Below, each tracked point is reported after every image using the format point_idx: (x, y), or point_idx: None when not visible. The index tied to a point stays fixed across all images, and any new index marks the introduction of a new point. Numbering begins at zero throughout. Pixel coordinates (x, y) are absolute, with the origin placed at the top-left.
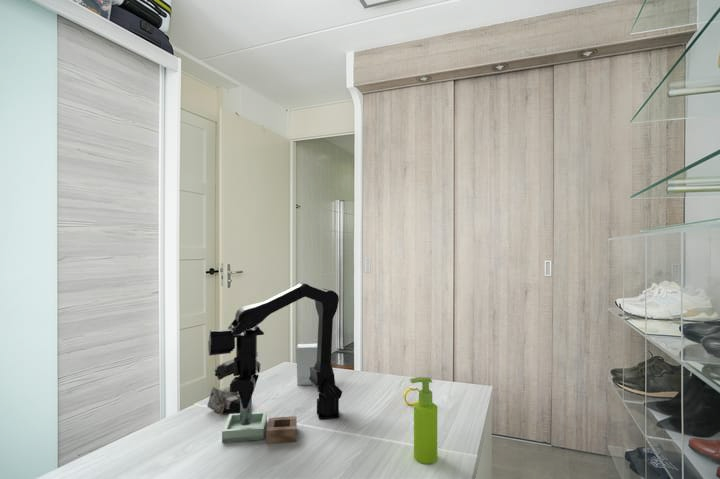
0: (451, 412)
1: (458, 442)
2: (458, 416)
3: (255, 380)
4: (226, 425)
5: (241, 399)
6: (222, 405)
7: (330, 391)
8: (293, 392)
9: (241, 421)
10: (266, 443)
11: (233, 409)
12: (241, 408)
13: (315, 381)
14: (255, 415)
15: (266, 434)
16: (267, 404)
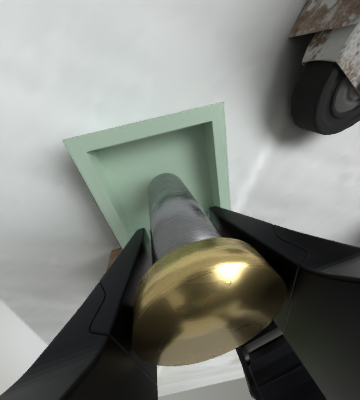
0: (230, 369)
1: (167, 389)
2: (221, 374)
3: (319, 379)
4: (118, 136)
5: (106, 277)
6: (328, 14)
7: (245, 375)
8: (355, 208)
9: (150, 187)
10: (112, 251)
11: (297, 84)
12: (152, 210)
13: (275, 396)
14: (217, 198)
15: (107, 269)
16: (314, 174)
